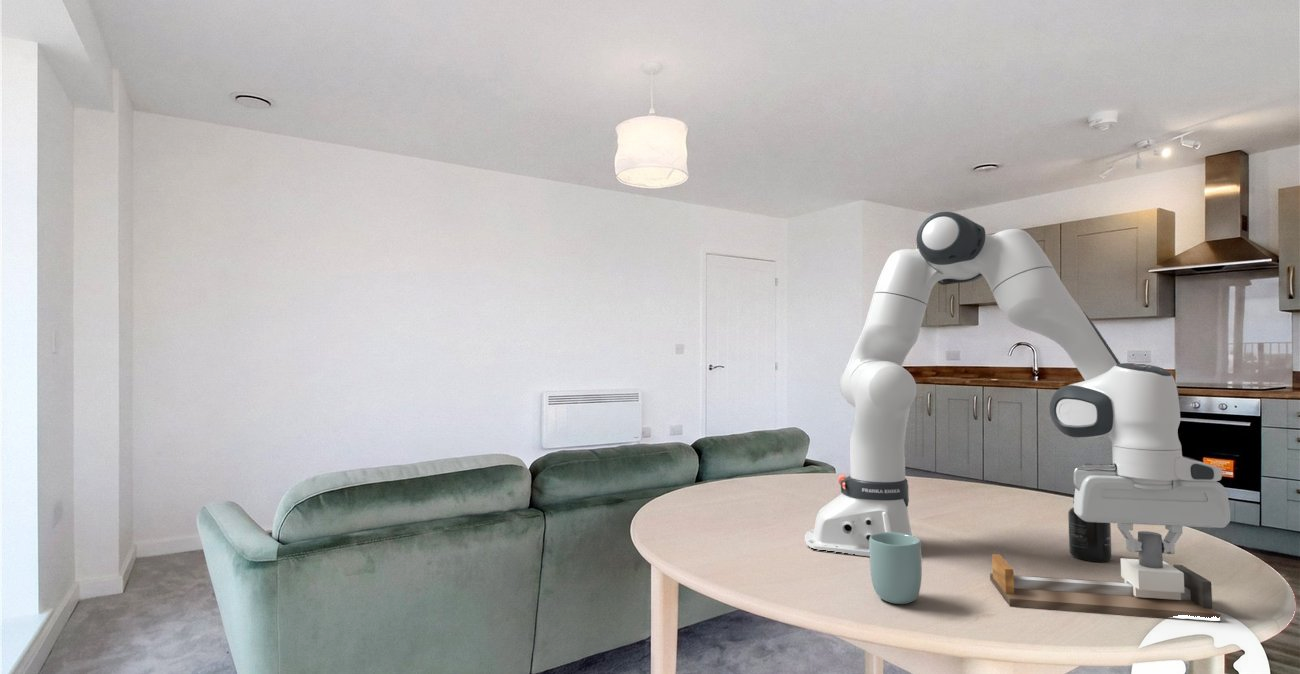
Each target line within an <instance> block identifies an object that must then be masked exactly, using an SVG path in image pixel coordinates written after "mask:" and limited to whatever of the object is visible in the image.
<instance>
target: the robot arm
mask: <svg viewBox="0 0 1300 674" xmlns="http://www.w3.org/2000/svg"><path fill="white" fill-rule="evenodd" d="M916 246H917V248H915V249H913V248H903V249H898V250H896V251H894V252H892V253H891V254H890V255H889V257H888V258H887V260H886V262H885V264H884V265H883V268H882V270H881V272H880V275H879V277H878V279H877V283H876V285H875V288H874V290H873V294H872V298H871V301H870V304H869V308H868V312H867V314H866V315H867V316H866V319H865V321H864V325H863V327H862V331H861V333H860V335H859V337H858V340H857V341H856V344H855V346H854V348H853V350H852V353H851V355H850V356H849V360H848V363H847V365H846V367H845V369H844V371H843V372H842V374H841V375H840V378H839V389H840V392H841V393H840V394H841V395H842V396H843V398H844V400H845V401H846V402H847V403H848V404H850V405H851V406H852V407H853V408H855V414H854V420H853V421H854V422H853V427H852V431H851V435H850V437H849V440H848V441H849V442H848V443H849V470H850V471H849V473H850V475H849V476H846V475H843V474H841V475H839V477H838V479H837V481H838V484H839V485H840V494H839V495H838V496H837V497H835V498H833V499H832V500H831V501H829V502H828V503H826V504H825V505H823V506H821V508H820V509H819V510H818V512H817V514H816V518H815V522H814V528H812V529H808V531H806V532H805V535H804V543H805V542H806V544H807V545H809V546H810V547H812V548H815V549H821V550H828V551H835V552H834V553H836V552H842V553H841V554H844V553H848V554H847V555H853V554H855V556H861V557H862V556H863V557H870V553H869V538H870V536H871V535H872V534H876V533H882V532H896V533H903V534H908V535H911V536H913V533H912V528H911V524H910V522H911V521H910V518H909V516H910V515H909V511H908V509H909V508H908V507H909V502H910V491H909V490H910V489H909V483H908V482H909V481H908V480H907V478H906V455H905V454H906V451H905V444H906V435H907V428H908V423H909V422H908V421H909V416H910V411H911V406H912V404H913V403H914V401H915V400H916V399H915V398H916V396H917V383H916V381H915V378H914V377H913V375H912V374H911V373H910V372H909V371H908V370H907V369H905V368H904V367H903V364H904V363H905V360H906V358H907V356H908V354H909V353H910V351H911V349H912V348H913V347H914V346H915V344H916V343H917V341H918V337H919V334H920V330H921V328H922V323H923V321H924V318H925V315H926V310H927V307H928V303H929V299H930V297H931V292H932V290H933V288H934V286H935V285H936V284H937V283H938V284H939V285H942V286H946V285H951V284H952V285H953V284H964V283H965V284H966V283H970V282H972V283H973V282H975V281H977V280H980V279H981V278H982V277H983V278H984V279H985V281H986V283H987V284H988V286H989V289H990V291H991V293H992V295H993V298H994V300H995V302H996V304H997V306H998V308H999V309H1000V311H1001V312H1002V313H1003V315H1004V316H1005V317H1006V319H1008V320H1009V322H1011V323H1012V324H1013V325H1015V326H1017V327H1019V328H1021V329H1025V330H1026V331H1027V330H1028V331H1029V332H1033V333H1036V334H1039V335H1041V336H1043V337H1045V338H1047V339H1049V340H1051V341H1053V342H1055V343H1056V344H1058V345H1059V346H1060V347H1061V348H1062V349H1063V350H1064V351H1065V352H1066V353H1067V355H1068V356H1069V358H1070V360H1071V361H1072V363H1073V364H1074V366H1075V368H1076V369H1077V371H1078V372H1079V374H1080V375H1081V376H1082V378H1083V379H1084V380H1082V381H1079V382H1074V383H1071V384H1068V385H1064V386H1062V387H1060V388H1058V389H1057V390H1056V391H1055V392H1054V393H1053V395H1052V397H1051V399H1050V403H1049V415H1050V418H1051V421H1052V422H1053V425H1054V426H1055V427H1056V428H1057V429H1058V430H1059V431H1060V432H1061V433H1062V434H1064V435H1066V436H1068V437H1071V438H1076V439H1081V440H1082V439H1083V440H1087V439H1090V440H1091V439H1104V438H1105V439H1106V438H1109V439H1110V441H1111V450H1112V451H1111V453H1112V458H1111V459H1112V463H1095V464H1093V463H1090V462H1089V463H1083V464H1082V465H1080V466H1078V467H1076V468H1075V469H1074V470H1073V473H1072V476H1073V477H1072V478H1073V482H1072V483H1073V486H1074V489H1075V490H1074V494H1075V495H1074V494H1073V501H1074V504H1073V507H1074V512H1075V514H1076V515H1077V516H1078V517H1079V518H1081V519H1082V520H1084V521H1086V522H1101V523H1110V524H1116V527H1117V528H1118V531H1120V533H1121V534H1122V536H1123V537H1124V539H1125V547H1126V549H1127V551H1129V552H1130V553H1139V552H1142V548H1141V546H1142V542H1141V541H1139V540H1138V538H1134V536H1133V535H1132V533H1131V531H1134V525H1150V526H1164V528H1165V529H1166V530H1167V534H1166V535H1165V536H1164V537H1163V539H1162V555H1164V554H1167V555H1175V554H1176V553H1175V552H1176V551H1175V544H1176V543H1177V542H1178V540H1179V539H1180V538H1181V536H1182V535H1183V533H1184V532H1183V527H1192V528H1193V527H1195V528H1212V529H1213V528H1214V529H1217V528H1218V529H1219V528H1220V529H1224V528H1225V527H1227V526H1228V524H1230V522H1231V508H1230V501H1229V497H1228V492H1227V490H1226V488H1225V486H1224V485H1222V483H1220V482H1218V481H1221V480H1222V477H1223V471H1222V469H1221V468H1220V467H1217V466H1215V465H1212V464H1209V463H1207V462H1202V461H1200V460H1197V459H1195V458H1193V457H1189V456H1183V451H1182V450H1183V449H1182V443H1181V441H1180V439H1179V438H1180V437H1179V433H1178V429H1179V427H1180V423H1181V411H1180V401H1179V400H1180V399H1179V392H1178V386H1177V384H1176V380H1175V378H1174V376H1173V375H1172V373H1171V372H1170V371H1169V370H1168V369H1164V368H1163V367H1160V366H1155V365H1151V364H1144V363H1134V362H1133V363H1131V362H1126V363H1125V362H1124V363H1121V362H1120V361H1119V359H1118V357H1116V355H1115V353H1114V352H1113V350H1112V349H1111V347H1110V346H1109V344H1108V342H1107V341H1106V339H1104V337H1103V336H1102V334H1101V332H1100V330H1099V329H1098V328H1097V327H1096V326H1095V324H1094V322H1093V321H1092V320H1091V319H1090V317H1089V316H1088V315H1087V314H1086V313H1085V312H1084V310H1083V309H1082V307H1080V305H1079V304H1078V302H1076V301H1075V299H1074V298H1073V297H1072V296H1071V294H1070V292H1069V291H1068V289H1067V288H1066V286H1065V285H1064V283H1063V282H1062V279H1061V278H1060V276H1059V274H1058V273H1057V271H1056V269H1055V267H1054V266H1053V264H1052V262H1051V261H1050V259H1049V258H1048V255H1046V253H1045V252H1044V250H1043V249H1042V248H1041V246H1040V245H1039V244H1038V243H1037V241H1036V240H1035V239H1034V238H1033V237H1032V236H1031V234H1030V233H1028V232H1027V231H1025V230H1024V229H1019V228H1007V229H1003V230H1000V231H998V232H995V233H992V234H988V233H986V228H985V227H984V226H983V225H980V224H979V223H977V222H975V221H973V220H971V219H969V218H968V217H967V216H966V217H965V215H962V214H959V213H957V212H956V213H955V212H953V211H942V212H941V211H940V212H936V213H934V214H932V215H930V216H928V217H927V218H926V219H925V220H924V221H923V222H922V223H921V225H920V226H919V228H918V230H917V234H916ZM806 544H805V545H806ZM807 545H806V546H807Z"/></svg>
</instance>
